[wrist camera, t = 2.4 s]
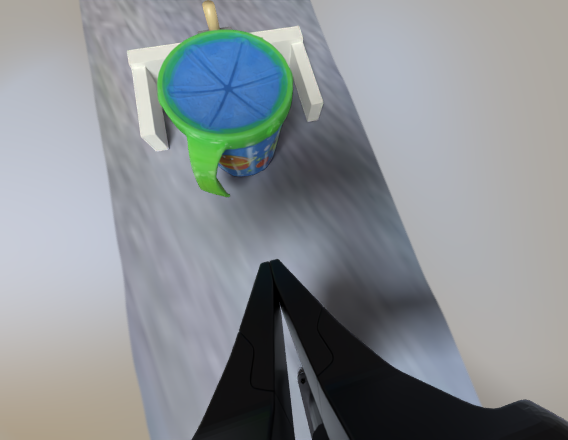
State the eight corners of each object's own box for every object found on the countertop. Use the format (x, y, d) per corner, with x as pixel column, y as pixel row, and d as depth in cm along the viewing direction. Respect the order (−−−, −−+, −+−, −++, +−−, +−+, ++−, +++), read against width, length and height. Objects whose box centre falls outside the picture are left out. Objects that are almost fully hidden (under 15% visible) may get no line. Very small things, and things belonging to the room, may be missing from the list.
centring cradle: (318, 120, 27) (334, 68, 20) (156, 151, 25) (109, 106, 18) (295, 52, 29) (302, -16, 22) (145, 76, 27) (99, 9, 20)
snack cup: (230, 89, 27) (206, -11, 17) (303, 115, 27) (321, 29, 17) (177, 190, 24) (109, 138, 14) (259, 221, 24) (250, 191, 14)
